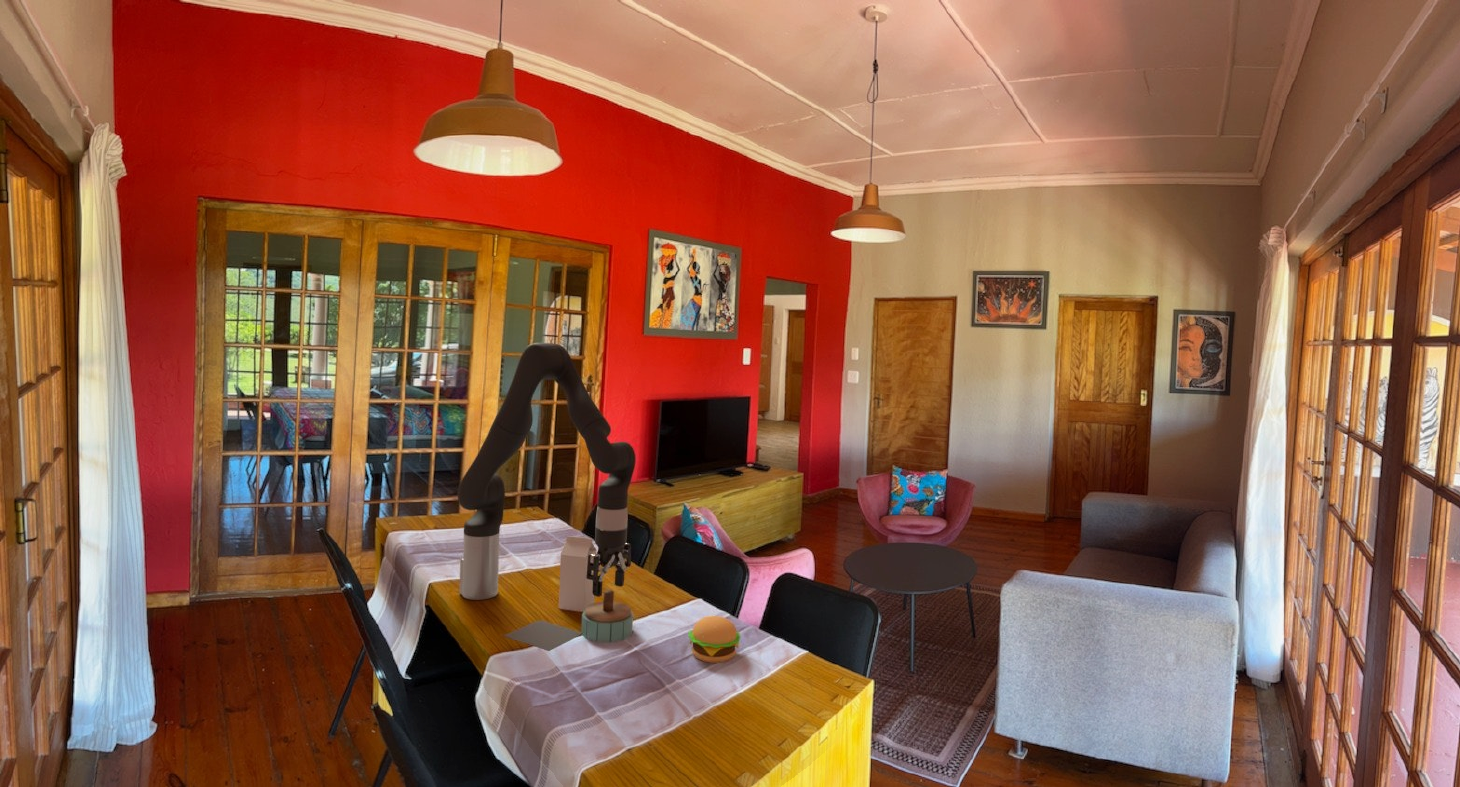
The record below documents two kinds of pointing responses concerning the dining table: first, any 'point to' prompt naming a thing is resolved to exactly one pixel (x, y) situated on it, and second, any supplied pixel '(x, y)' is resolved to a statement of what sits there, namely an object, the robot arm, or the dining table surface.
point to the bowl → (606, 629)
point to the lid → (608, 610)
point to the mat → (543, 635)
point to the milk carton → (575, 574)
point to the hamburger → (714, 639)
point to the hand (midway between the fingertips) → (608, 590)
